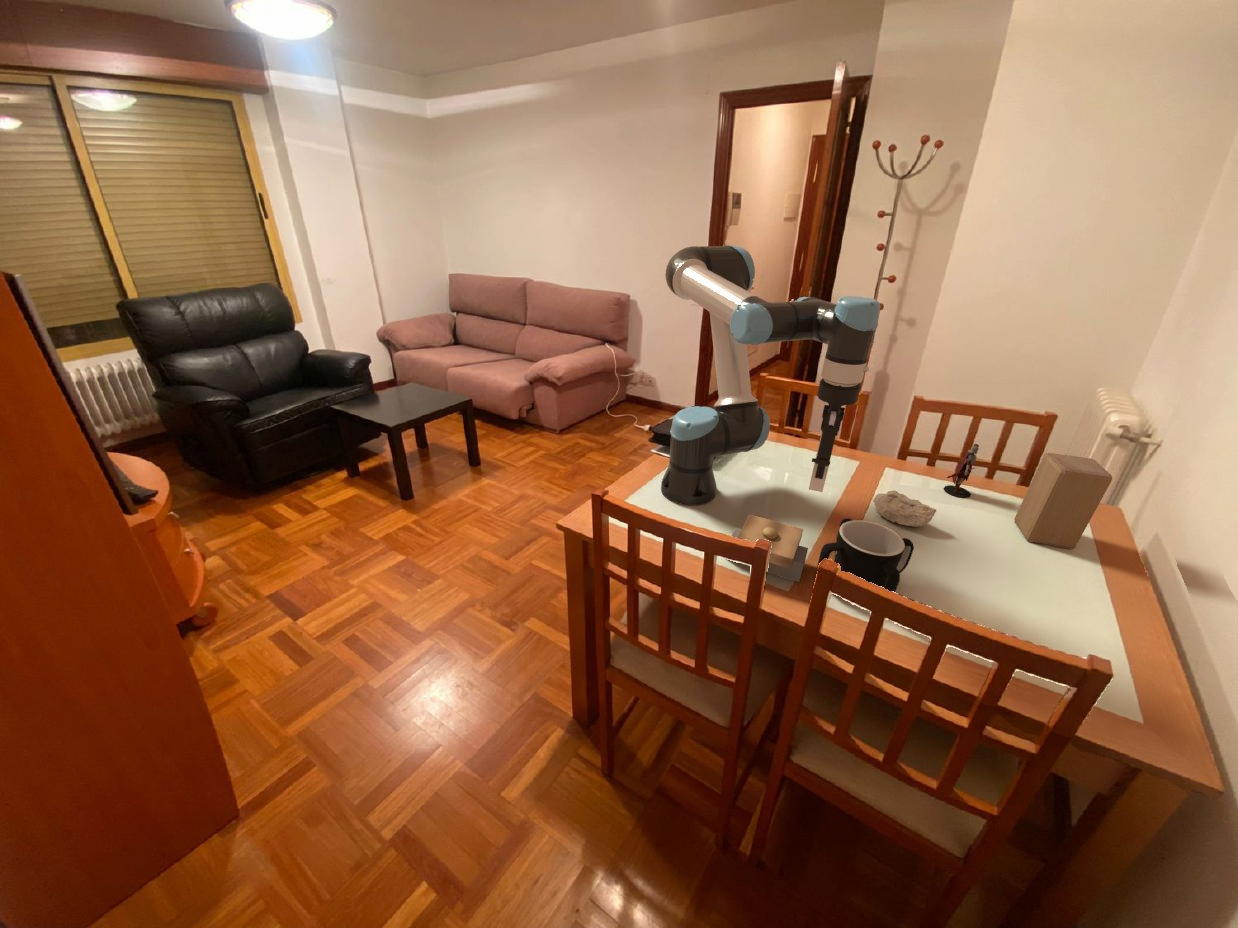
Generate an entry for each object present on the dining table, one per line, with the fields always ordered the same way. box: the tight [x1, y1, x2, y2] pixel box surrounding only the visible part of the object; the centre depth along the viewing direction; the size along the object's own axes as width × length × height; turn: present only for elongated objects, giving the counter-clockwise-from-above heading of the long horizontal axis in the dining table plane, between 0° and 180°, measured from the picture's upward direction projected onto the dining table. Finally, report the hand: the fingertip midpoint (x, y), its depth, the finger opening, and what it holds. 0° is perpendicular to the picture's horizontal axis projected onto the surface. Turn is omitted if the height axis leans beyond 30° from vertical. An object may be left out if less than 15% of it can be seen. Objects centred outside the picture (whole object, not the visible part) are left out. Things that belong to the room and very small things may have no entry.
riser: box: [731, 527, 809, 583], centre depth 110 cm, size 16×6×5 cm, turn 62°
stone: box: [872, 490, 937, 528], centre depth 126 cm, size 8×12×10 cm
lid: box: [737, 514, 804, 569], centre depth 108 cm, size 12×12×4 cm
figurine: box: [943, 443, 980, 499], centre depth 137 cm, size 7×7×15 cm
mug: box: [817, 517, 915, 593], centre depth 103 cm, size 16×16×12 cm
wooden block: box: [1014, 452, 1113, 550], centre depth 118 cm, size 10×10×20 cm
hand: (818, 475), depth 107 cm, fingers open, 13 cm apart
